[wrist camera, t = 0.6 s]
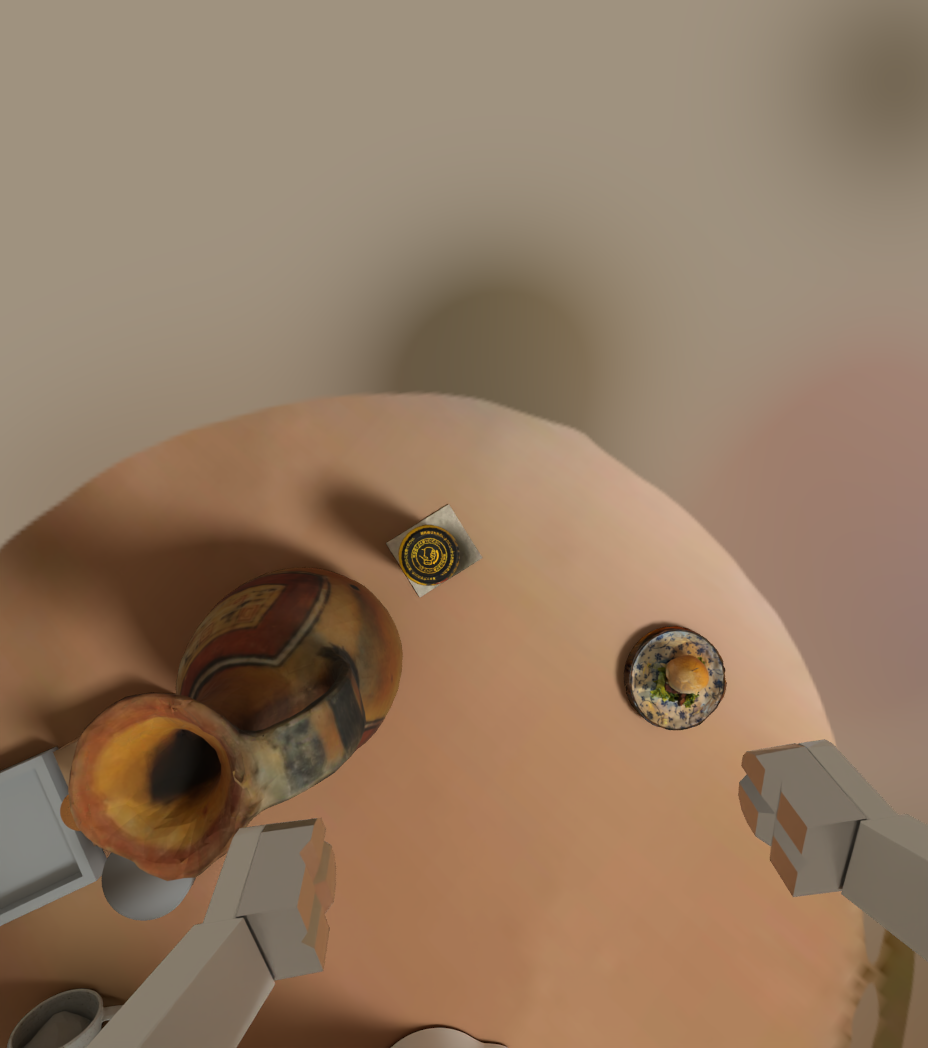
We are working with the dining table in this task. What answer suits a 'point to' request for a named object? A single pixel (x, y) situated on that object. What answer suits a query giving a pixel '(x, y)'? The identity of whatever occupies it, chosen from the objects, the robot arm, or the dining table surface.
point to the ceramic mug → (63, 1021)
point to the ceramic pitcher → (238, 721)
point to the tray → (39, 839)
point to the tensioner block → (131, 873)
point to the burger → (674, 678)
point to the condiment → (434, 550)
